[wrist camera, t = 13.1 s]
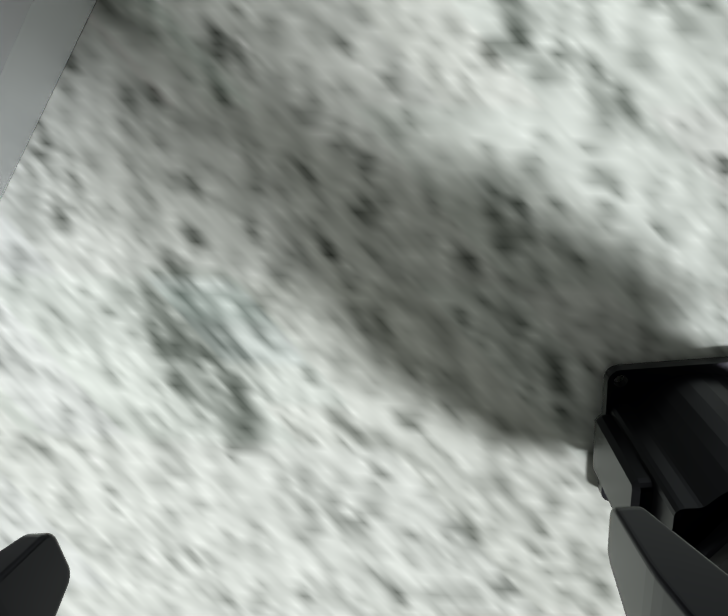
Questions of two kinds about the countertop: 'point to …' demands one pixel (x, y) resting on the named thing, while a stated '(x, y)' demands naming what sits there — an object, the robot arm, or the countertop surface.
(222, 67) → the countertop surface
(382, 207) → the countertop surface
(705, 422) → the robot arm
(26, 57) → the panel
